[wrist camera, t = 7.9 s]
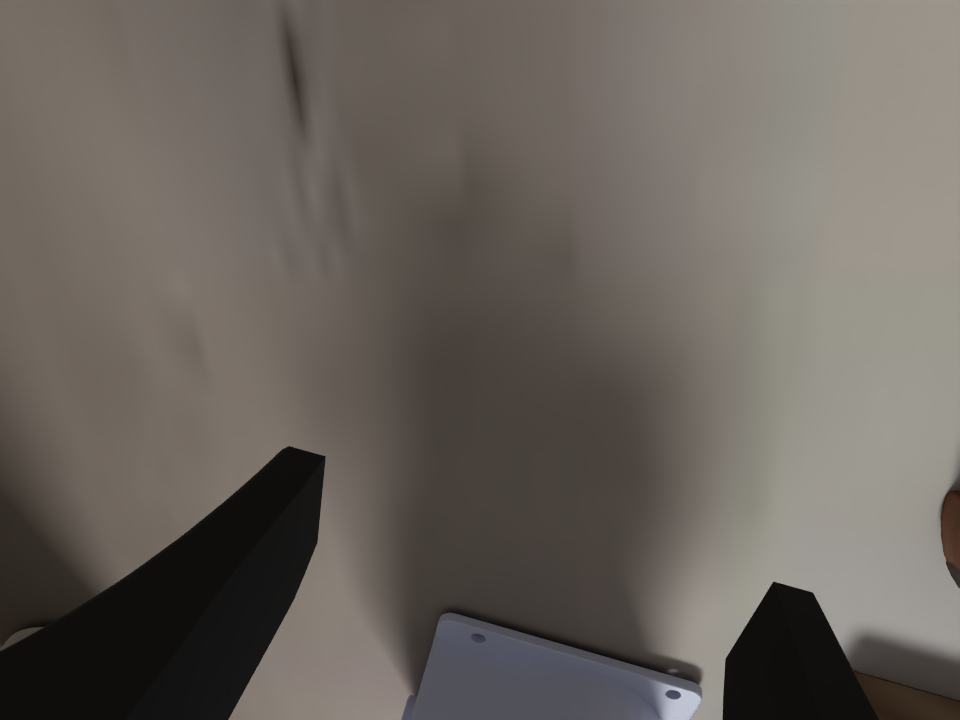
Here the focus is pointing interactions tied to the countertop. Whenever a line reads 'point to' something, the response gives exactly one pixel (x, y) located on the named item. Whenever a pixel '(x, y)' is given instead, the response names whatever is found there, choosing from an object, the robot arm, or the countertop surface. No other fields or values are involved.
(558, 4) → the countertop surface
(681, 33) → the countertop surface
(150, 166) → the countertop surface
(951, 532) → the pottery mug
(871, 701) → the bar
